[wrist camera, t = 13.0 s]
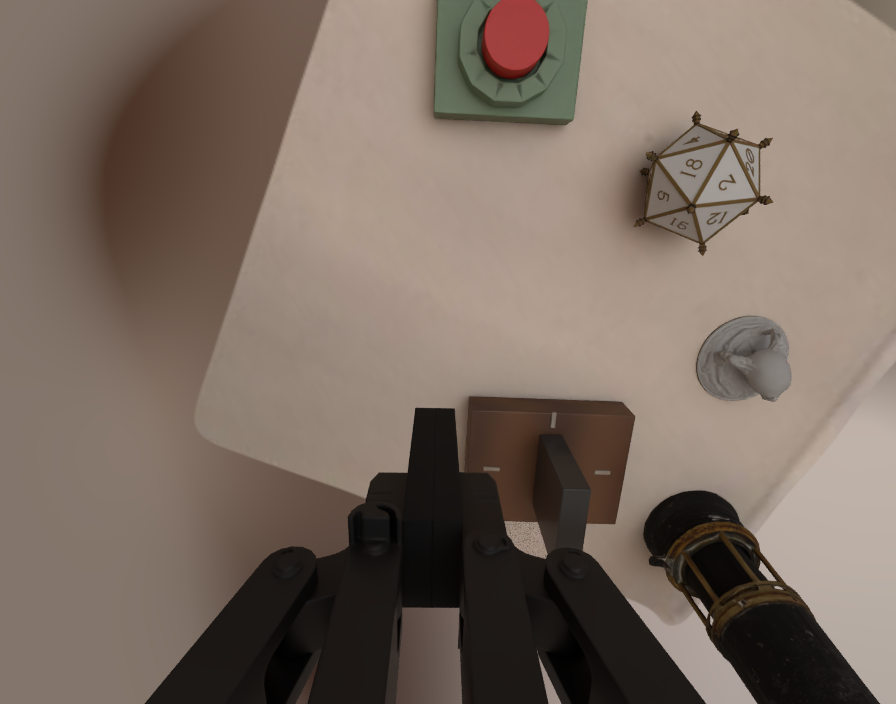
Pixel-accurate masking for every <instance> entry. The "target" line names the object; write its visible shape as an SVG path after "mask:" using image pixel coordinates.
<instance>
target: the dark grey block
mask: <svg viewBox="0 0 896 704" xmlns="http://www.w3.org/2000/svg"><path fill="white" fill-rule="evenodd" d="M590 496H591V488H590V486H589V484H588V483H587V481H586V479H585V477H584V475H583V473H582V471H581V469H580V468H579V466H578V464H577V462H576V460H575V458H574V456H573V454H572V452H571V451H570V449H569V447H568V445H567V443H566V441H565V439H564V437H563V436H562V435H540V436H539V445H538V454H537V464H536V473H535V483H534V492H533V502H532V504H533V508H534V511H535V514H536V517H537V521H538V524H539V527H540V530H541V534H542V537H543V540H544V543H545V547H546V550H547V553H548V554H549V553H550V552H551V551H552V550H555V549H558V548H568V547H570V548H574V549H578V550H581V551H582V550H583V543H584V536H585V530H586V523H587V516H588V510H589V503H590Z"/></svg>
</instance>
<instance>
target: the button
mask: <svg viewBox="0 0 896 704" xmlns="http://www.w3.org/2000/svg"><path fill="white" fill-rule="evenodd" d="M548 40H549V23H548V19H547V16H546V14H545V12H544V10H543V8H542V7H541V6H540V5H539V4H538V3H537V2H536V1H535V0H501V1H499V2H498V3H497V4H496V5H495V6H494V7H493V9H492V10H491V12H490V13H489V15H488V18H487V20H486V24H485V28H484V32H483V36H482V53H483V57H484V60H485V62H486V64H487V65H488V67H489V68H490V69H491V71H493V72H494V73H495V74H496V75H498V76H500V77H503V78H507V79H515V78H519V77H522V76H524V75H526V74H527V73H529V72H530V71H531V70H532V69H533V68H534V67H535V65H536V64H537V62H538V61H539V59H540V58H541V56H542V55H543V53H544V51H545V49H546V47H547V44H548Z"/></svg>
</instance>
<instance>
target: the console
mask: <svg viewBox="0 0 896 704" xmlns="http://www.w3.org/2000/svg"><path fill="white" fill-rule="evenodd" d="M634 420H635V415H634V414H633V413H632V412H631V411H630V410H629V409H628V408H627V407H626V406H625V405H624V404H623V402H606V401H579V400H551V399H524V398H497V397H469V410H468V425H467V441H466V456H465V472H469V473H489V475H490V476H491V477H492V478H493V479H494V480H495V481H496V484H497V489H498V494H499V498H500V503H501V508H502V513H503V518H504V521H521V522H538V521H537V517H536V514H535V511H534V508H533V504H532V502H533V492H534V483H535V473H536V464H537V454H538V445H539V436H540V435H562V436H563V437H564V439H565V441H566V443H567V445H568V447H569V449H570V451H571V452H572V454H573V456H574V458H575V460H576V462H577V464H578V466H579V468H580V469H581V471H582V473H583V475H584V477H585V479H586V481H587V483H588V484H589V486H590V488H591V496H590V503H589V510H588V516H587V523H590V524H615V523H616V517H617V512H618V507H619V501H620V496H621V490H622V485H623V480H624V474H625V469H626V463H627V458H628V453H629V447H630V442H631V437H632V431H633V426H634Z"/></svg>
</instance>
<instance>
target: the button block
mask: <svg viewBox="0 0 896 704" xmlns="http://www.w3.org/2000/svg"><path fill="white" fill-rule="evenodd" d="M499 1H501V0H437V30H436V60H435V91H434V118H442V119H460V120H479V121H498V122H516V123H535V124H554V125H566V124H568V123H569V122H571V121H572V120H573V119H574V112H575V103H576V95H577V86H578V78H579V69H580V60H581V52H582V43H583V34H584V26H585V17H586V9H587V0H535V1H536V2H537V3H538V4H539V5H540V6H541V7H542V8H543V10H544V12H545V14H546V16H547V19H548V23H549V40H548V44H547V47H546V49H545V51H544V53H543V55H542V56H541V58H540V59H539V61H538V62H537V64H536V65H535V67H534V68H533V69H532V70H531V71H530V72H529V73H527V74H526V75H524V76H522V77H519V78H515V79H507V78H503V77H500V76H498V75H496V74H495V73H494V72H493V71H491V69H490V68H489V67H488V65H487V64H486V62H485V60H484V57H483V53H482V36H483V32H484V28H485V24H486V20H487V18H488V15H489V13H490V12H491V10H492V9H493V7H494V6H495V5H496V4H497V3H498V2H499Z"/></svg>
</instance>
